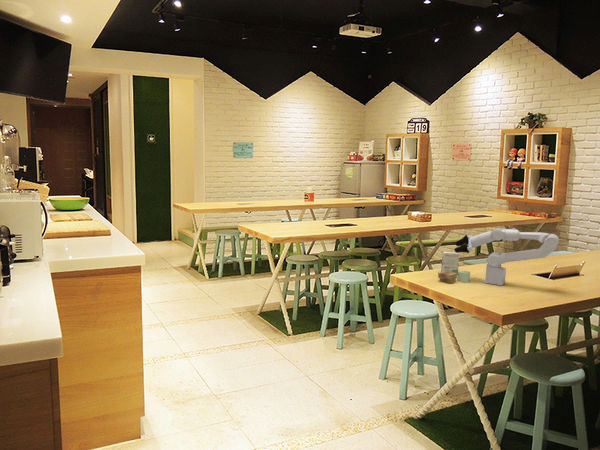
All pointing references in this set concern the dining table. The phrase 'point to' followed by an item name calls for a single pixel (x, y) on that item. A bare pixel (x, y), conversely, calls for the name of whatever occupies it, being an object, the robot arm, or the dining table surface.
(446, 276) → the top tile
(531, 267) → the dining table surface
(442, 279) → the bottom tile
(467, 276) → the mint block
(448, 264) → the ink box
